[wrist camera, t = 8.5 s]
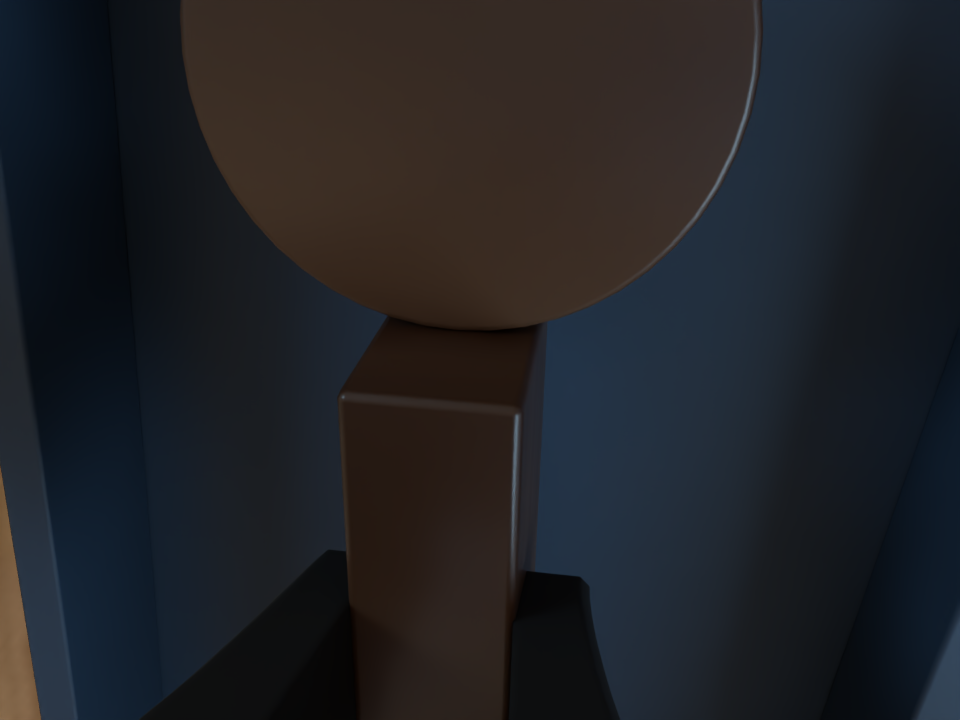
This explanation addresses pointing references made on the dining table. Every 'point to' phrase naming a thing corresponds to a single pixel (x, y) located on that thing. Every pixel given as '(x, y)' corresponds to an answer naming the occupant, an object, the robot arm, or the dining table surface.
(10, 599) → the dining table surface
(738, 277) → the tray
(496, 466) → the wooden spoon
